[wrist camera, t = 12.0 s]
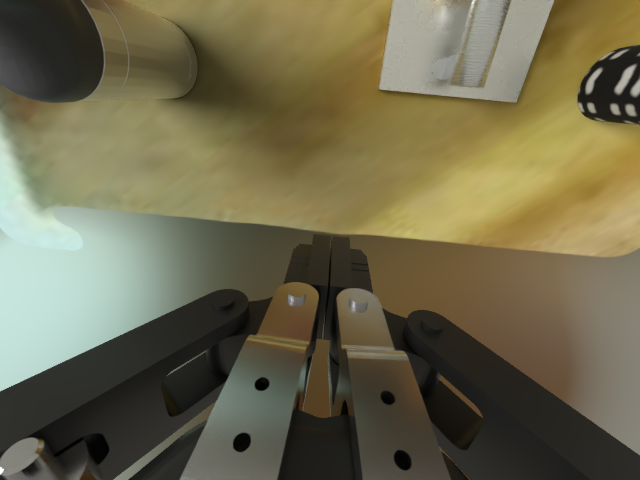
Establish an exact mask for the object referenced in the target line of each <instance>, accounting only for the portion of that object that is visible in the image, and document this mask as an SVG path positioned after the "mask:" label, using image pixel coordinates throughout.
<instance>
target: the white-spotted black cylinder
mask: <svg viewBox="0 0 640 480" xmlns="http://www.w3.org/2000/svg"><path fill="white" fill-rule="evenodd" d="M578 105H579V109H580V111H581V112H582V113H583V114H584V116H586V117H587V118H589V119H592V120H598V121H607V122H616V123H626V124H635V125H640V45H636V46H630V47H624V48H620V49H617V50H614V51H612V52H610V53H609V54H607V55H605V56H604V57H602V58H601V59H600V60H599V61H597V62H596V63H595V64H594V65H593V66H592V67H591V69H590V70H589V71H588V73H587V74H586V75H585V77H584V79H583V81H582V83H581V85H580V88H579V92H578Z"/></svg>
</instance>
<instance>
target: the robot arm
mask: <svg viewBox="0 0 640 480" xmlns="http://www.w3.org/2000/svg"><path fill="white" fill-rule="evenodd" d="M197 73H198V63H197V58H196V54H195V51H194V48H193V46H192V44H191V42H190V40H189V38H188V37H187V36H186V35H185V33H184V32H183V31H182V30H181V29H180V28H179V27H178V26H177V25H175V24H174V23H172V22H170V21H169V20H167V19H164V18H162V17H160V16H157V15H155V14H153V13H151V12H148V11H146V10H144V9H141V8H139V7H137V6H134V5H132V4H130V3H127V2H125V1H123V0H0V84H1V85H2V86H4V87H5V88H7V89H9V90H10V91H12V92H14V93H16V94H18V95H21V96H23V97H26V98H29V99H32V100H36V101H41V102H52V103H59V102H80V101H104V100H138V99H173V98H179V97H182V96H184V95H185V94H187V93H188V92H189V91H190V90H191V89H192V87H193V86H194V84H195V81H196V78H197ZM330 240H331V236H330V235H321V234H314V236H313V241H312V245H307V244H299V245H298V246H297V247H296V248H295V249H294V250H293V253H292V257H291V260H290V264H289V267H288V271H287V274H286V277H285V281H284V284H283V285H282V286H280V287H279V288H278V289H277V290H276V292H275V294H274V296H273V297H271V298H268V299H265V300H260V301H251V302H248V298H247V296H246V295H245V294H244V293H242V292H240V291H238V290H233V289H224V290H218V291H215V292H212V293H210V294H208V295H206V296H204V297H201V298H199V299H197V300H195V301H193V302H191V303H189V304H187V305H185V306H182V307H180V308H178V309H176V310H174V311H171V312H169V313H167V314H165V315H163V316H161V317H159V318H157V319H154V320H152V321H150V322H148V323H146V324H144V325H142V326H140V327H137V328H135V329H133V330H131V331H129V332H127V333H124V334H123V335H120V336H118V337H116V338H114V339H112V340H109V341H107V342H105V343H103V344H101V345H99V346H97V347H95V348H93V349H90V350H88V351H86V352H84V353H82V354H80V355H78V356H75V357H73V358H71V359H69V360H67V361H65V362H62V363H60V364H58V365H56V366H54V367H52V368H50V369H47V370H45V371H43V372H41V373H39V374H37V375H35V376H33V377H30V378H28V379H26V380H24V381H22V382H20V383H18V384H15V385H13V386H11V387H9V388H7V389H5V390H3V391H1V392H0V480H113V479H114V478H116V477H117V476H118V475H119V474H121V473H122V472H123V471H125V470H126V469H127V468H129V467H130V466H131V465H133V464H134V463H135V462H136V461H138V460H139V459H140V458H142V457H143V456H144V455H145V454H147V453H148V452H149V451H151V450H152V449H154V448H155V447H156V446H157V445H159V444H160V443H161V442H163V441H164V440H165V439H167V438H168V437H169V436H171V435H172V434H173V433H174V432H176V431H177V430H178V429H180V428H181V427H182V426H184V425H185V424H186V423H187V422H189V421H190V420H191V419H193V418H194V417H195V416H197V415H198V414H199V413H201V412H202V411H203V410H204V409H206V408H207V407H208V406H210V405H211V404H212V403H214V402H215V401H216V400H217V402H216V404H215V406H214V408H213V410H212V412H211V415H210V417H209V419H208V420H206V421H204V422H202V423H201V424H199V425H197V426H195V427H194V428H192V429H191V430H189V431H188V432H186V433H185V434H184V435H182V436H181V437H180V438H178V439H177V440H176V441H175V442H174V443H172V444H171V445H170V446H169V447H168V448H166V449H165V450H164V451H163V452H161V453H160V454H159V455H158V456H157V457H155V459H153V460H152V461H151V462H149V463H148V464H147V465H146V466H145V467H143V468H142V469H141V470H140V471H139V472H137V473H136V474H135V475H134V476H132V477H131V478H130V479H129V480H469V479H470V480H640V455H638V454H637V453H635V452H634V451H632V450H631V449H630V448H628V447H627V446H626V445H624V444H623V443H621V442H620V441H618V440H617V439H616V438H614V437H613V436H611V435H610V434H609V433H607V432H606V431H604V430H603V429H602V428H600V427H599V426H597V425H596V424H594V423H593V422H592V421H590V420H589V419H587V418H586V417H585V416H583V415H582V414H580V413H579V412H578V411H576V410H575V409H573V408H572V407H570V406H569V405H567V404H566V403H565V402H563V401H562V400H561V399H559V398H558V397H556V396H555V395H554V394H552V393H551V392H549V391H548V390H546V389H545V388H543V387H542V386H541V385H539V384H538V383H537V382H535V381H534V380H532V379H531V378H529V377H528V376H527V375H525V374H524V373H522V372H521V371H520V370H518V369H517V368H515V367H514V366H513V365H511V364H510V363H508V362H507V361H505V360H504V359H503V358H501V357H500V356H498V355H497V354H496V353H494V352H493V351H491V350H490V349H488V348H487V347H486V346H484V345H483V344H481V343H480V342H478V341H477V340H476V339H474V338H473V337H472V336H470V335H469V334H467V333H466V332H464V331H463V330H461V329H460V328H459V327H457V326H456V325H454V324H453V323H452V322H450V321H449V320H447V319H446V318H445V317H443V316H441V315H439V314H437V313H435V312H431V311H427V310H417V311H414V312H412V313H410V314H409V316H408V318H404V317H401V316H398V315H395V314H392V313H390V312H388V311H386V310H385V309H383V308H382V307H381V304H380V301H379V299H378V298H377V297H376V296H375V295H374V294H373V290H372V285H371V279H370V273H369V267H368V262H367V257H366V256H365V254H364V253H363V252H362V251H361V250H357V249H350V241H349V237H341V236H332V240H331V248H330ZM324 315H325V322H324ZM323 323H324V338H323V339H325V340H330V348H329V355H328V374H329V394H330V417H328V418H319V417H316V416H313V415H310V414H308V413H305V412H303V406H304V400H305V395H306V390H307V385H308V379H309V374H310V369H311V363H312V357H313V353H314V351H315V347H316V339H322V331H323ZM205 350H206V352H205V353H204V354H202V355H201V356H199V357H197V358H196V359H194V360H192V361H191V362H189V363H187V364H186V365H184V366H183V367H181V368H180V369H178V370H176V371H174V372H173V373H171V374H169V373H170V372H171V371H173V370H174V369H176V368H177V367H179V366H181V365H182V364H184V363H186V362H187V361H189V360H190V359H192V358H194V357H195V356H197V355H199V354H200V353H202V352H204V351H205ZM168 374H169V375H168ZM167 375H168V376H167ZM440 375H442V376H443V377H444V378H445V379H446V380H448V381H449V382H450V383H451V384H452V385H453V386H454V387H455V388H457V389H458V390H459V391H460V392H461V393H462V394H463V395H465V396H466V397H467V398H468V399H469V400H470V401H471V402H473V403H474V404H475V405H476V406H477V408H478V409H479V410H480V412H481V414H482V416H483V418H482V417H480V416H479V415H478V414H477V413H476V412H474V411H473V410H472V409H471V408H470V407H469V406H468V405H467V404H466V403H465V402H463V401H462V400H461V399H460V398H459V397H458V396H457V395H455V393H453V392H452V391H451V390H450V389H449V388H448V387H447V386H446V385H444V384H443V383H442V382H441V381H440V380H439V378H440ZM439 446H440V447H441V448H442V450H443V451H444V452H445V453H446V454H447V455H448V456H449V457H450V458H451V459H452V460H453V461H454V462H453V461H451V460H450V459H449V458H448V457H447V456H446V455H445V454H444V453H443V452H442V451H441V450H440V447H439ZM455 464H456V465H457V466H458V467H459V468H460V469H461V470H462V471H463V472H464V473H465V475H466V476H467V477H468V478H469V479H468V478H467V477H466V476H465V475H464V474H463V472H462V471H461V470H460V469H459V468H458V467H457V466H456V465H455Z"/></svg>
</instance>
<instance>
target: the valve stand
mask: <svg viewBox="0 0 640 480" xmlns="http://www.w3.org/2000/svg"><path fill="white" fill-rule="evenodd" d="M553 3H554V0H392V4H391V11H390V17H389V23H388V29H387V35H386V42H385V48H384V54H383V60H382V67H381V73H380V79H379V85H378V89H379V90H389V91H399V92H410V93H420V94H430V95H441V96H451V97H461V98H472V99H482V100H492V101H503V102H514V103H516V102H517V99H518V97H519V94H520V91H521V89H522V86H523V83H524V80H525V78H526V75H527V72H528V70H529V67H530V64H531V62H532V59H533V56H534V54H535V51H536V48H537V46H538V43H539V40H540V38H541V35H542V32H543V29H544V27H545V24H546V21H547V19H548V16H549V13H550V11H551V8H552V5H553Z"/></svg>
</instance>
